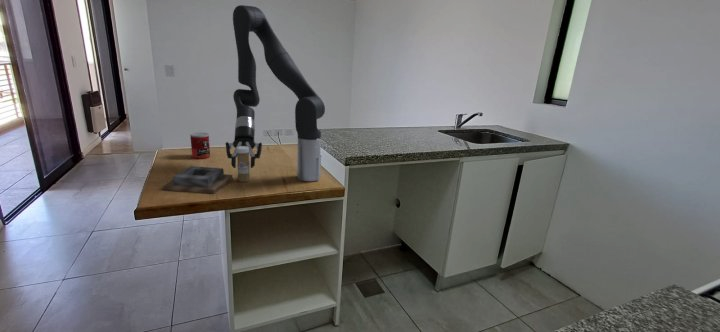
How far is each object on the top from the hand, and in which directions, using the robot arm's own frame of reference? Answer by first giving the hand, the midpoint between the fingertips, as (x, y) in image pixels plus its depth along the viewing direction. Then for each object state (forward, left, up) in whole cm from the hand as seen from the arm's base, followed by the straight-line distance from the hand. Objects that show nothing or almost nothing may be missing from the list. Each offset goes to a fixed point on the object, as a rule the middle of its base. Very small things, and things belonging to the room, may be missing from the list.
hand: (243, 166), depth 128 cm
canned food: (+30, -28, -6) cm, 42 cm away
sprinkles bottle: (0, -2, -6) cm, 7 cm away
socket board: (+14, +5, -6) cm, 17 cm away
